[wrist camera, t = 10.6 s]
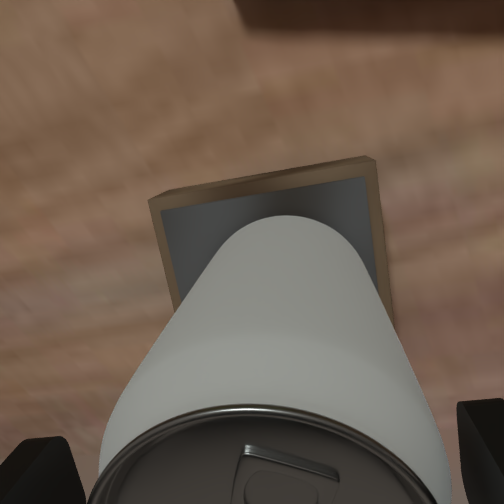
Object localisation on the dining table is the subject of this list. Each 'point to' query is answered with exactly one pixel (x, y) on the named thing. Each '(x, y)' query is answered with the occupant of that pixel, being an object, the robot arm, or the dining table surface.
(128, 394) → the can
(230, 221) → the stand
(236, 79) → the dining table surface
